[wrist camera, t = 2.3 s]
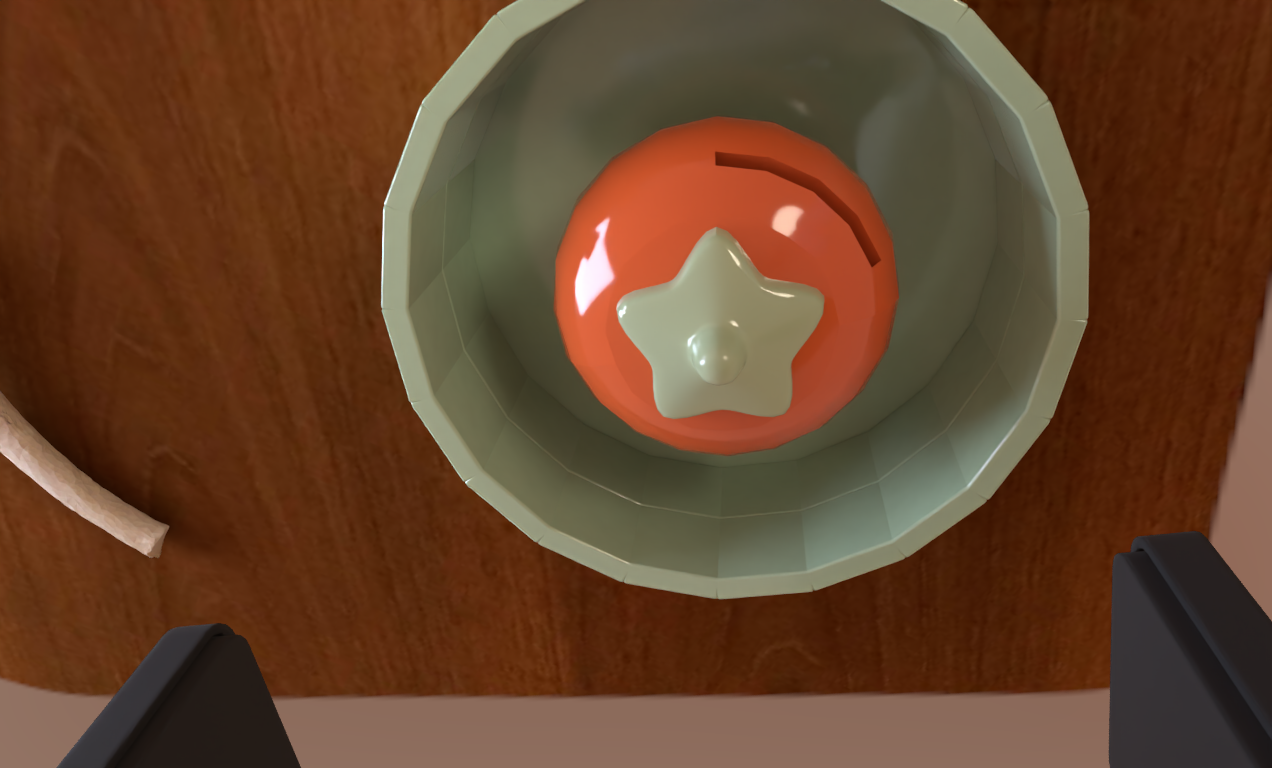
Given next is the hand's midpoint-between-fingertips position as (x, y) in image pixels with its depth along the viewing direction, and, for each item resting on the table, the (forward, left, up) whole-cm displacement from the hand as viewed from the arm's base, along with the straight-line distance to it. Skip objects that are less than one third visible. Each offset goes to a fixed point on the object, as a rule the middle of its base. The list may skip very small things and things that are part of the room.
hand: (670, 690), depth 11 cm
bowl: (0, 0, -16) cm, 16 cm away
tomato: (0, 0, -16) cm, 16 cm away
